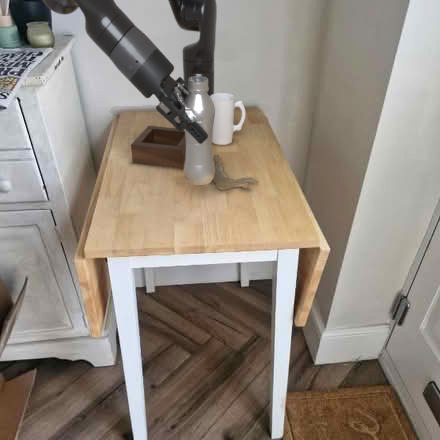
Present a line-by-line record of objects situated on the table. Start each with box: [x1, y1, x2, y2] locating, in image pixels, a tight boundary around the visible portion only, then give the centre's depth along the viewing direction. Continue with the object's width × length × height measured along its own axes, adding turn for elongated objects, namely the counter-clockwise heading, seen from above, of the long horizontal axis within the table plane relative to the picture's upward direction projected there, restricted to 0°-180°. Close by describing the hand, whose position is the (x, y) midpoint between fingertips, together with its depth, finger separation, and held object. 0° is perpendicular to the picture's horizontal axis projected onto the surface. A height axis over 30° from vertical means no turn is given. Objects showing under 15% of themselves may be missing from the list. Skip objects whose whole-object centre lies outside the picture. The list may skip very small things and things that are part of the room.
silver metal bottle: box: [183, 76, 215, 186], centre depth 83 cm, size 6×7×20 cm
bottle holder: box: [130, 125, 186, 170], centre depth 113 cm, size 14×14×5 cm
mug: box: [210, 92, 246, 146], centre depth 119 cm, size 10×7×12 cm, turn 99°
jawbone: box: [212, 153, 260, 191], centre depth 106 cm, size 9×20×2 cm, turn 30°
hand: (207, 133), depth 83 cm, fingers closed on silver metal bottle, 6 cm apart
